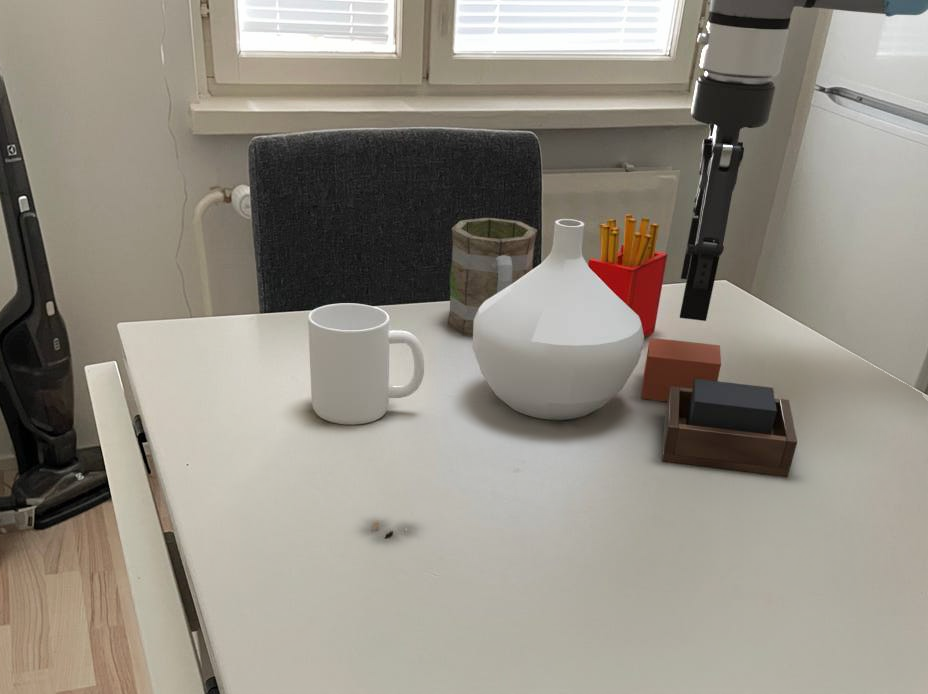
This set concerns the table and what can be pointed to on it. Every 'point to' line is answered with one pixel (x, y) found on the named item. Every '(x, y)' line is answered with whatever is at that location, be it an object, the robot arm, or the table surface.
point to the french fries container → (632, 268)
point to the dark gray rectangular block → (732, 406)
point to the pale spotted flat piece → (375, 526)
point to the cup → (355, 362)
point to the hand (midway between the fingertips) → (692, 298)
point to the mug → (485, 264)
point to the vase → (557, 336)
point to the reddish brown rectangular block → (677, 366)
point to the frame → (727, 440)
